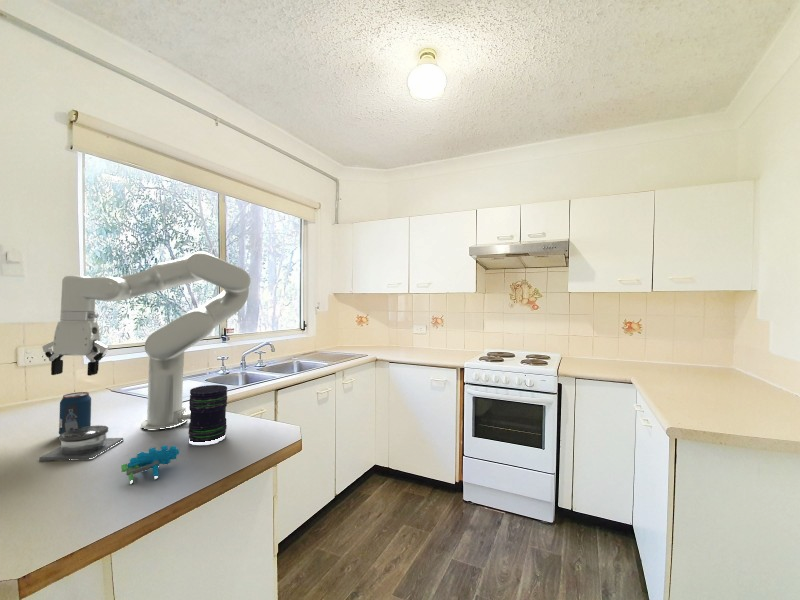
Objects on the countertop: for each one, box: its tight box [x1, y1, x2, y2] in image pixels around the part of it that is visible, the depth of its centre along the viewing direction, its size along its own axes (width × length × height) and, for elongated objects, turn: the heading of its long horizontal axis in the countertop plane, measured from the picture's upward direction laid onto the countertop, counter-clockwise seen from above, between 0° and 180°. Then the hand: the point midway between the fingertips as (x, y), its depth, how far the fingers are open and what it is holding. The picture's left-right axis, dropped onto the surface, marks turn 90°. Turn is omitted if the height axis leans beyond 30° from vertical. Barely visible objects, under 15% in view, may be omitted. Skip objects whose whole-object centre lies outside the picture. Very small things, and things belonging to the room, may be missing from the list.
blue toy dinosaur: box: [120, 444, 180, 481], centre depth 82 cm, size 11×6×10 cm
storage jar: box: [187, 384, 228, 442], centre depth 104 cm, size 10×10×15 cm
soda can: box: [58, 391, 92, 436], centre depth 105 cm, size 7×7×12 cm
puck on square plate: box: [38, 425, 124, 462], centre depth 95 cm, size 12×12×5 cm
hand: (74, 374), depth 105 cm, fingers open, 9 cm apart
